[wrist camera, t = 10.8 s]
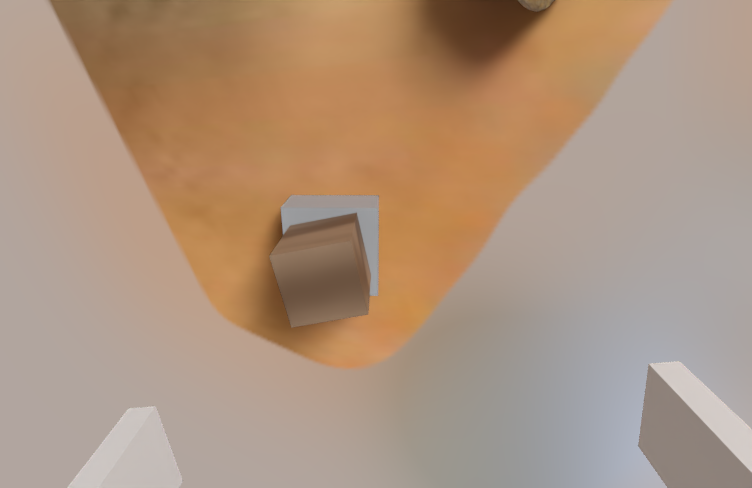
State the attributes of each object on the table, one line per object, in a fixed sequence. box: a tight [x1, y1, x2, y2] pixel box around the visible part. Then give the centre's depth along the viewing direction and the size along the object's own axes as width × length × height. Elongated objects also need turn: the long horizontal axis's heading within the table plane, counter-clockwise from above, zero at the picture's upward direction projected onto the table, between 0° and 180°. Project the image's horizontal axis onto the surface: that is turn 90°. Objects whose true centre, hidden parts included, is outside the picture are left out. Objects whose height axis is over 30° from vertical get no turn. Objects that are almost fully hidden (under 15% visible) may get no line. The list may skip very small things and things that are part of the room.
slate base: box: [281, 195, 379, 296], centre depth 34 cm, size 7×7×4 cm
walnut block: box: [269, 213, 371, 328], centre depth 29 cm, size 5×5×6 cm
